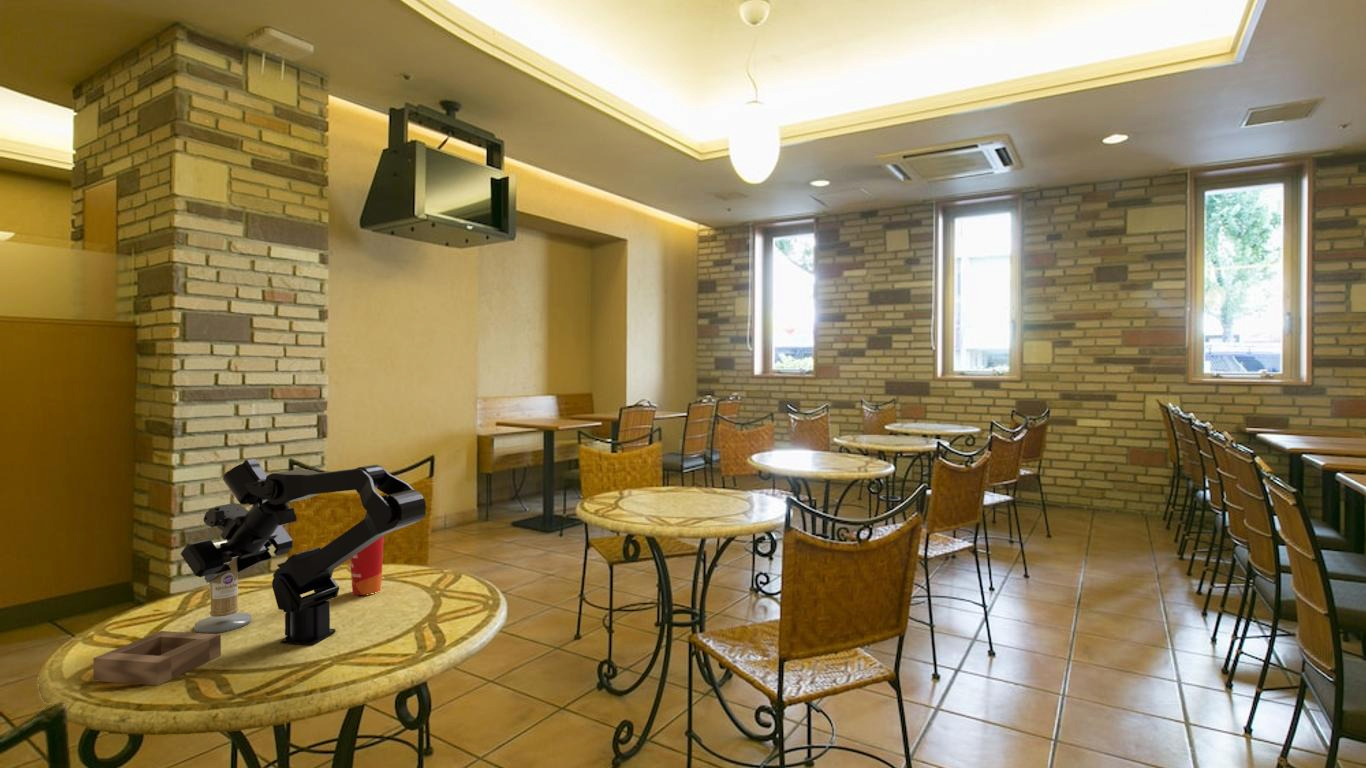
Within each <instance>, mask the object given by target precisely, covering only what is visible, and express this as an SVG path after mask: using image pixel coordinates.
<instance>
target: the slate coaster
mask: <svg viewBox="0 0 1366 768" xmlns="http://www.w3.org/2000/svg"><path fill="white" fill-rule="evenodd" d="M251 622H252V614H251V613H248V612H243V611H242V612H238V611H237V612H236V613H234V614H231V615H227V616H221V617H214V616H211V615H210V616H209V617H205V618H202V619H200V620H198V621H196V622H195V623H194V626H193V627H194V633H202V634H218V633H225V632H229V631H233V630H237V629H241V628H242V627H245V626H247V625H249V624H250V623H251Z"/></svg>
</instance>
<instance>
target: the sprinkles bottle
mask: <svg viewBox="0 0 1366 768" xmlns="http://www.w3.org/2000/svg"><path fill="white" fill-rule="evenodd" d="M226 542H227V540H223V541H218V542H213V544H214V545H215V547H216V548H221V547H220V544H222V543H226ZM228 566H229V567H230V568H231V570H230V571H228V572H226V573H225V574H223V575H221V576H220V577H218V578H216V579H215V580H213V581H211V582H209V599H210V612H209V615H210V617H211V616H214V617H221V616H227V615H231V614H234V613H236V612H238V611H239V607H238V606H239V605H238V602H239V601H238V597H239V596H238V594H239V578H238V576H239V575H238V574H239V573H238V569H237V557H236V558H232V560H231V562H229V563H228Z"/></svg>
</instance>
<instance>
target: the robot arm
mask: <svg viewBox="0 0 1366 768" xmlns="http://www.w3.org/2000/svg"><path fill="white" fill-rule="evenodd" d="M222 480H223V482H224V484H225V485H226V486H227V487H228V489H229V490H230V492H231V494H233V496H234V497H235V498H236V500H237V501H238V502H239V503H233V502H232V503H228V504H221V505H217V506H215V507H212V508H211V507H210V508H209V509H208V510H207V511H206V512H205V514H204V516H203V523H204V524H205V525H207V526H208V527H210V528H211V529H212V528H217V529H219V530H220V531H222V532H221V533H220V537H221V538H222V539H223V541H227V542H226V543H222V544H220V547H221V548H216V547H215V545H214V544H213V543H214V542H213V541H212V540H211V539H203V540H199V541H194V542H190V543H189V542H188V543H186V545H185V546H184V548H183V549H182V550H181V552H180V555H181V557H182V558H183V560H184V562H185V563H186V564H187V566H188V567H189V569H190V570H191V571H192V573H193V574H194V576H196V577H199V578H202V577H204V580H205V581H206V583H207V584H208V583H209V584H210V582H211V581H213V580H215V579H216V578H218V577H220V576H221V575H223V574H225V573H226V572H228V571H230V570H231V568H230V567H229V566H228V563H229V562H231V560H232V558H236V557H237V569H238V574H239V573H241V572H244V571H246V570H248V569H250V568H253V567H254V566H257V565H259V564H261V563H263V562H265V561H268V560H271V559H272V554H271V553H270V547H271V546H273V547H274V550H273V554H274V555H275V556H276V557H278V556H282V555H286V554H289V552H290V551H291V550H292V548H293V546H294V540H293V539H292V538H291V536H290V534H288V532H287V530H286V529H285V528H284V526H285V525H288V524H292V523H296V522H297V521H298V519H297V515H296V513H295V508H294V507H291V505H290V504H289V503H294V502H298V501H304V500H307V499H310V498H313V497H315V496H318V495H320V494H328V493H336V492H337V493H339V492H346V491H356V492H357V493H358V494H359V498H360V502H361V505H362V507H363V508H364V510H365V511H366V513H365V516H364V518H363V519H362V520H360V521H359V522H358V523H356V524H355V525H353V526H352V527H350V528H349V529H347V530H346V531H345V532H343V533H341V535H339V536H338V537H336V538H335V539H334V540H333V539H332V541H330V542H329V543H328V544H325V546H323V547H320V546H319V547H315V548H311V549H308V550H304V551H302V552H297V553H293V554H292V555H290V556H289V557H287V559H286V560H285V561H284V562H282V563H278V564H277V567H278V568H277V569H276V570H275V571H274V573H273V574H272V577H273V579H272V581H271V586H272V591H273V594H274V598H275V601H276V605H277V609H278V610H281V611H283V612H284V633H285V635H284V636H285V637H282V638H280V641H279V642H280V643H281V644H297V645H314V644H316V643H319V642H320V641H322V640H323V639H325V638H327V637H329V636H330V635H333V634H335V633H336V628H331V625H330V624H331V622H330V621H331V620H330V619H331V617H330V616H331V613H330V612H331V607H330V606H331V605H330V604H331V602H330V600H333V599H336V598H338V595H339V591H340V586H339V584H338V583H337V582H336V581H335V579H334V578H333V577H332V576H333V573H334V570H336V568H338V567H340V566H341V565H343V563H346V562H347V561H348V560H350V558H351V557H353V556H354V555H356V554H357V553H359V552H360V551H362V550H363V549H365V548H366V547H367V546H369V545H370V544H372V543H373V542H375V541H376V540H378V539H379V538H381V537H382V536H384V537H385V535H387V534H390V533H393V532H395V531H398V530H400V529H403V528H406V527H407V526H411V525H413V524H416V523H418V522H420V521H422V520H423V519H424V518H425V516H426V514H427V513H426V510H427V504H426V500H425V498H424V496H423V495H422V493H421V492H419V491H418V490H415V489H414V487H413V486H411V485H410V483H408V482H406V481H404V480H402V479H400V478H398V477H396V476H395V475H393V474H391V473H390V472H389V471H388V470H387V469H386V468H385V467H383V466H382V465H379V464H371V465H364V466H359V467H356V468H350V469H349V468H348V469H342V470H333V471H332V470H331V471H324V472H320V471H316V470H314V469H313V470H312V469H304V468H303V469H302V468H300V469H298V468H297V469H294V470H293V469H291V470H286V471H280V472H279V471H278V472H273V473H269V474H266V472H265V470H264V468H262V467H261V465H260V462H259V461H258V460H257V459H256V458H249V459H245V460H244V461H243V463H240V464H238V465H236V466H234V467H233V468H231V469H229V470H228V471H226V472H225V473H224V474H223V477H222ZM376 489H377V490H378V491H380V492H382V493H383V494H386V495H381V494H379V492H378V491H377V490H376ZM241 505H251V508H250V509H249V510H248V509H246V508H245V507H244V506H241ZM283 525H284V526H283ZM309 592H312V593H310V594H307V595H304V594H306V593H309ZM301 595H304V596H301Z"/></svg>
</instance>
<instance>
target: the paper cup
mask: <svg viewBox="0 0 1366 768" xmlns="http://www.w3.org/2000/svg"><path fill="white" fill-rule="evenodd" d="M384 544H385V535H384V536H382V537H381V538H379V539H378V540H376V541H375V542H373V543H372V544H370V545H369V546H367V547H366V548H365V549H363V550H362V551H360V552H359V553H357V554H356V555H354V556H353V557H351V558H350V559H349V560H350V563H349V564H350V576H351V589H352V595H354V594H355V595H354V596H357V595H366V596H368V595H367V594H371V593H375V592H378V591H380V592H381V590H382V589H381V588H382V577H383V576H382V574H383V563H384V562H383V559H384V557H383V556H384ZM378 593H379V592H378Z"/></svg>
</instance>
